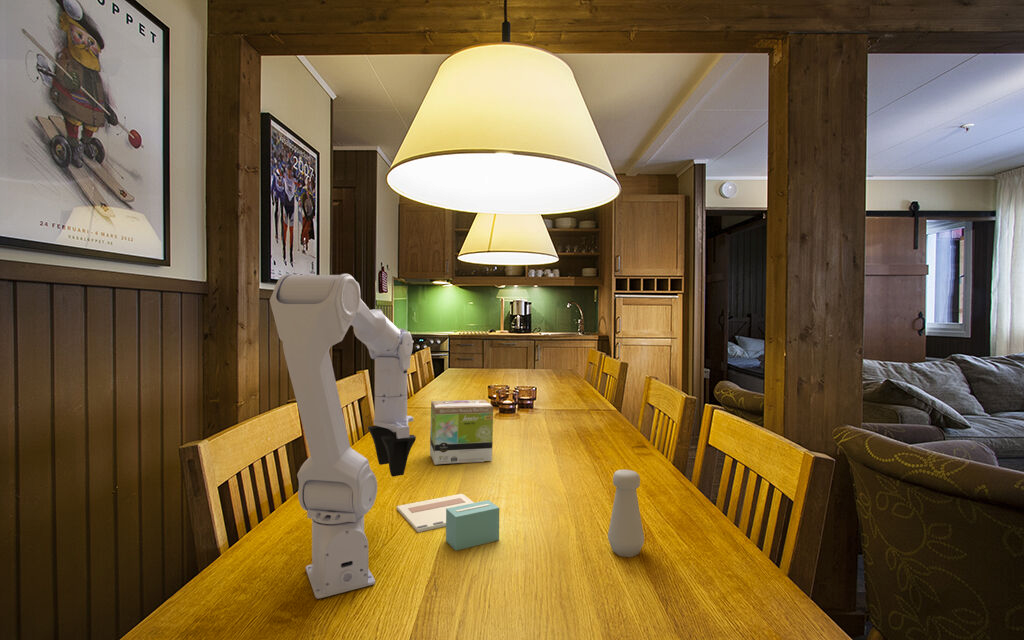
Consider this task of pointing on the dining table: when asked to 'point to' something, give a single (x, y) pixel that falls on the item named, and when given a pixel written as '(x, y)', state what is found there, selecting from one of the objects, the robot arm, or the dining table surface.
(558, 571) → the dining table surface
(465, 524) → the teal rectangular block
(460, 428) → the tea box
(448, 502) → the white card
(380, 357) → the robot arm
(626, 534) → the salt shaker
